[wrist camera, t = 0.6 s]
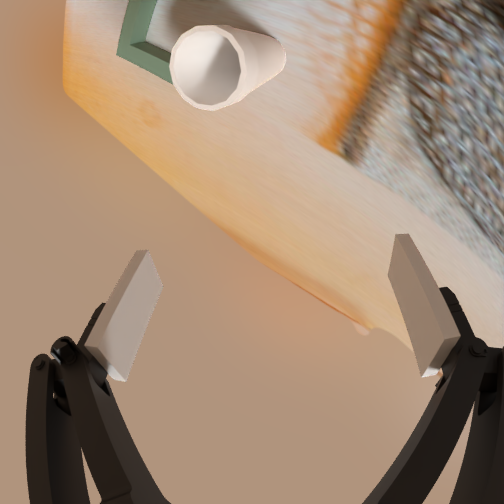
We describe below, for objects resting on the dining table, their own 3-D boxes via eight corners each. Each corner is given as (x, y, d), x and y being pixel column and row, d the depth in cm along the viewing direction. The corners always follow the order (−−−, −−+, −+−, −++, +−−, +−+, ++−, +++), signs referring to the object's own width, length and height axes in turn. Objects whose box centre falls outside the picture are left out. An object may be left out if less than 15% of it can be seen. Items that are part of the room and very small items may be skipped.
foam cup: (300, 87, 33) (252, 109, 25) (239, 90, 37) (179, 114, 29) (292, 21, 27) (237, 15, 19) (229, 30, 31) (162, 36, 23)
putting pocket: (244, -42, 22) (144, -64, 11) (191, 81, 39) (101, 116, 28) (165, -56, 22) (69, -59, 11) (131, 51, 39) (47, 78, 28)
